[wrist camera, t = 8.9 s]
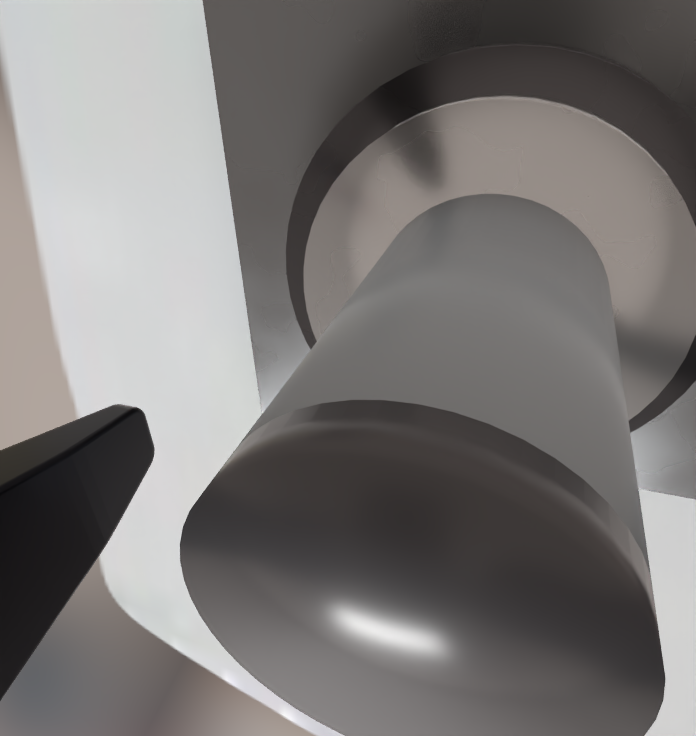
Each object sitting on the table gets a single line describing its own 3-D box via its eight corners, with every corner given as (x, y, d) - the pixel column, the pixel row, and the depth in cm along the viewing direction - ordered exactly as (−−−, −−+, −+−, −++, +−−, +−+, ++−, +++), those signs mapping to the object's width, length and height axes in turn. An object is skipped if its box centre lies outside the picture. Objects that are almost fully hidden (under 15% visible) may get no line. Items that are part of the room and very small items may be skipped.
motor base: (957, -39, 9) (1089, -54, 7) (721, 480, 16) (749, 564, 13) (224, -3, 13) (148, -6, 11) (274, 402, 20) (234, 456, 17)
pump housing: (639, 202, 10) (756, 533, 4) (583, 420, 13) (597, 828, 6) (374, 186, 12) (134, 407, 5) (374, 385, 14) (216, 692, 8)
